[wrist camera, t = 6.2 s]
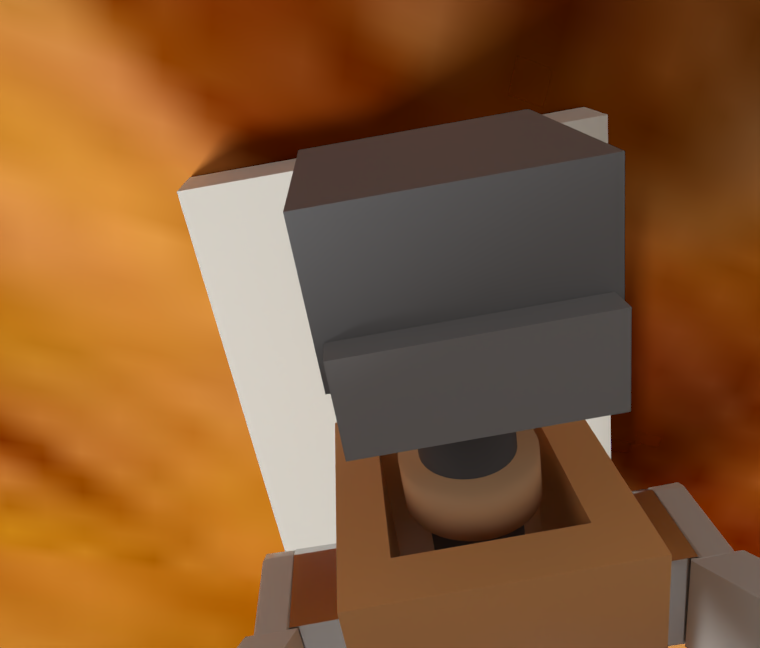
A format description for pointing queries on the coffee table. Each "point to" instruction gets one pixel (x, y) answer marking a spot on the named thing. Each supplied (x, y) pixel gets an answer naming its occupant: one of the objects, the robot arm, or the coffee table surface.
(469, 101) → the coffee table surface
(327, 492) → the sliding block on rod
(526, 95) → the coffee table surface
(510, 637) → the marker sleeve
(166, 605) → the coffee table surface
